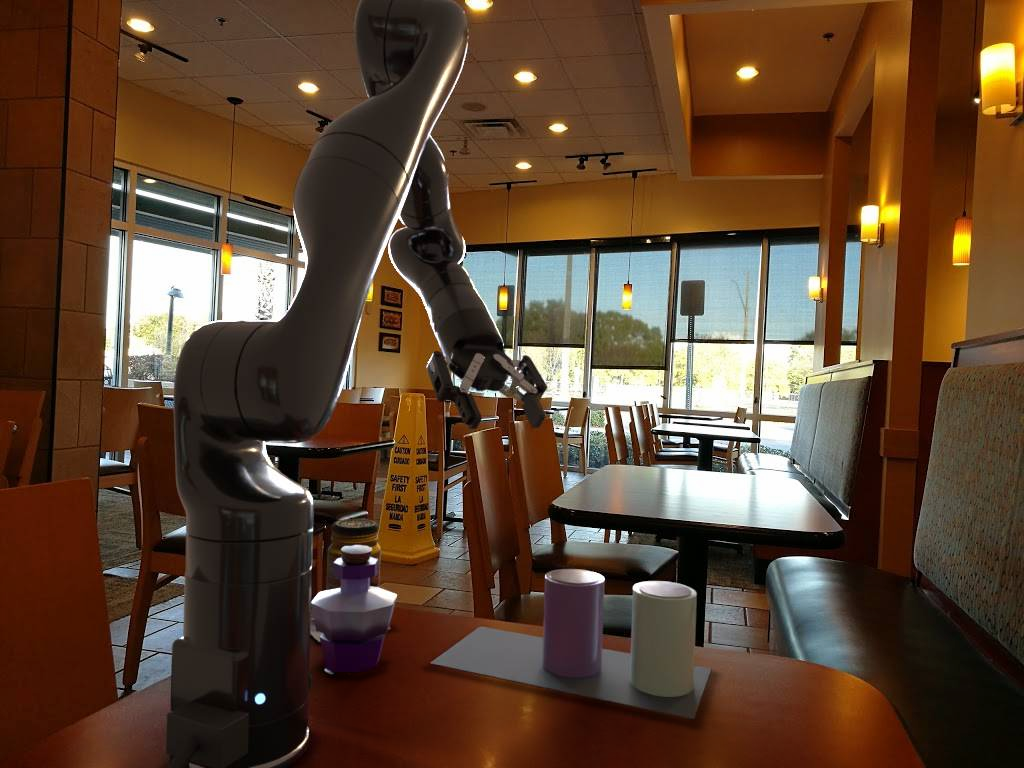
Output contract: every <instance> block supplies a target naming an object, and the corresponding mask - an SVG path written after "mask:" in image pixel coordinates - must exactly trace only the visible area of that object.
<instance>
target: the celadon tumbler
mask: <svg viewBox="0 0 1024 768" xmlns="http://www.w3.org/2000/svg"><path fill="white" fill-rule="evenodd" d="M697 593H698V592H697V591H696V590H695V589H693V587H690V586H687V585H685V584H681V583H677V582H672V581H664V580H663V581H662V580H648V581H641V582H638V583H635V584H634V585H633V586H632V598H631V601H632V602H631V627H630V630H631V631H630V653H629V654H630V683H631V684H632V686H634V687H635V688H636V689H638V690H640V691H642V692H644V693H647V694H651V695H655V696H662V697H678V696H683V695H686V694H688V693H690V692H691V691H692V690H693V682H694V665H695V650H696V629H697V627H696V625H697V599H698V594H697Z"/></svg>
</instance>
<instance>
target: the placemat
mask: <svg viewBox="0 0 1024 768" xmlns="http://www.w3.org/2000/svg"><path fill="white" fill-rule="evenodd" d="M542 650H543V636H542V637H541V636H535V635H531V634H525V633H519V632H513V631H508V630H504V629H503V630H502V629H498V628H492V627H486V626H481V625H480V626H479V627H477V628H476V629H475V630H473V631H472V632H470V633H469V634H468V635H466V636H465V637H464V638H463V639H461V640H460V641H458V642H457V643H455V644H454V645H453V646H451V647H450V648H449V649H447V650H446V651H444V652H443V653H442V654H440V655H439V656H438V657H437V658H435V659H434V660H432V661H430V662H429V664H430V665H434V666H439V667H443V668H449V669H453V670H456V671H463V672H466V673H471V674H472V673H473V674H478V675H481V676H486V677H492V678H496V679H499V680H505V681H510V682H514V683H519V684H524V685H529V686H533V687H538V688H543V689H548V690H552V691H557V692H562V693H566V694H571V695H576V696H581V697H585V698H590V699H595V700H600V701H605V702H610V703H615V704H618V705H623V706H629V707H632V708H637V709H641V710H647V711H651V712H656V713H661V714H666V715H671V716H674V717H675V716H676V717H681V718H686V719H689V720H695V717H696V714H697V712H698V709H699V706H700V704H701V700H702V697H703V696H704V692H705V689H706V687H707V685H708V681H709V679H710V676H711V673H712V670H713V669H712V668H711V667H706V666H699V665H695V664H694V682H693V690H692V691H691V692H690V693H688V694H686V695H683V696H678V697H662V696H655V695H651V694H647V693H644V692H642V691H640V690H638V689H636V688H635V687H634V686H632V684H631V683H630V653H629V652H625V651H618V650H612V649H608V648H607V649H606V648H602V669H601V671H600V672H599V673H598V674H596V675H594V676H590V677H585V678H568V677H562V676H558V675H554V674H552V673H550V672H548V671H546V670H545V669H544V668H543V666H542Z"/></svg>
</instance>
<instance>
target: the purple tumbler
mask: <svg viewBox="0 0 1024 768" xmlns="http://www.w3.org/2000/svg"><path fill="white" fill-rule="evenodd" d="M605 585H606V579H605V576H603V575H602V574H600V573H597V572H594V571H590V570H586V569H579V568H578V569H577V568H562V569H554V570H550V571H548V572H546V573H545V575H544V591H543V592H544V595H543V624H542V628H543V629H542V638H543V650H542V666H543V668H544V669H545V670H546V671H548V672H550V673H552V674H554V675H558V676H562V677H568V678H585V677H590V676H594V675H596V674H598V673H599V672H600V671H601V669H602V649H603V643H604V638H603V637H604V617H605V616H604V613H605V589H606V586H605Z"/></svg>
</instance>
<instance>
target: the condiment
mask: <svg viewBox="0 0 1024 768" xmlns="http://www.w3.org/2000/svg"><path fill="white" fill-rule="evenodd" d="M378 531H379V524H378V523H377V522H376V521H374V520H371V519H365V518H347V519H341V520H337V521H334V523H332V526H331V537H330V541H331V543H330V545H329V546H328V548H327V556H326V557H327V558H326V559H327V561H326V562H327V564H326V591H328V590H332V589H337V588H340V587H341V578H339V577H336V576H334V575H333V567H334V562H335V561H336V559H337V558H341V549H342V547H344V546H353V545H363V546H368V547H371V548H372V553H371V556H370V557H372V558H375V559H378V572H377V573H376V575H375V576H374V577H370V586H372V587H379V588H381V585H380V583H381V558H382V557H381V556H382V552H381V551H382V549H381V545H380V544H379V542H378V540H379V533H378ZM391 629H392V627H391V626H390V627H389V629H388V631H389V630H391ZM321 635H322V632H319V631H318V632H316V627H315V622H314V617H311V623H310V636H312V637H313V638H314V639H315V640H317V642H318V643H321V641H320V636H321Z"/></svg>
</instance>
